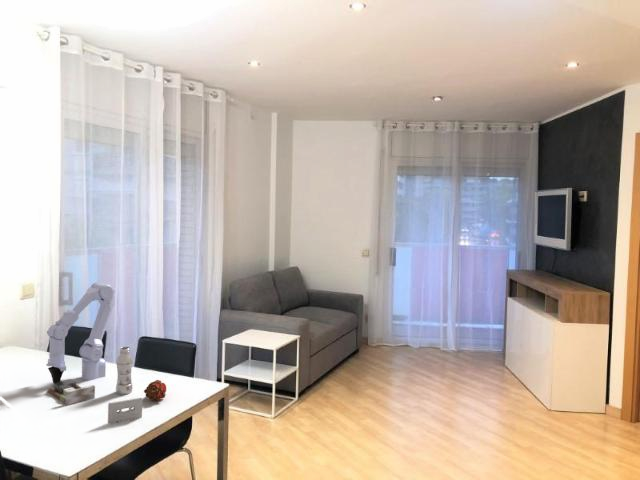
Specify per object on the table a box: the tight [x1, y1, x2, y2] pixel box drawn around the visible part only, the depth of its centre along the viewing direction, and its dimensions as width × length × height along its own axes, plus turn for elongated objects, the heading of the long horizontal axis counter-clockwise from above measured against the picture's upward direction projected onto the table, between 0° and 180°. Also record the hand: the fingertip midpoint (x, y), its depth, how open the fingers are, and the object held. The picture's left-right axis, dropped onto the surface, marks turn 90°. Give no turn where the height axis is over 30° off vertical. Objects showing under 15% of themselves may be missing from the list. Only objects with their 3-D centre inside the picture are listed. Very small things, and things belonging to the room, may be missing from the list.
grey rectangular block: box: [53, 378, 77, 394], centre depth 205 cm, size 7×5×4 cm
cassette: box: [107, 397, 143, 425], centre depth 182 cm, size 12×2×8 cm, turn 124°
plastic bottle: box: [115, 346, 134, 396], centre depth 206 cm, size 6×7×20 cm
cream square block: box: [63, 387, 75, 395], centre depth 202 cm, size 4×4×2 cm
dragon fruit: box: [143, 379, 167, 402], centre depth 203 cm, size 8×8×12 cm
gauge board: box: [46, 384, 96, 406], centre depth 201 cm, size 11×20×6 cm, turn 49°
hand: (56, 383), depth 211 cm, fingers closed
